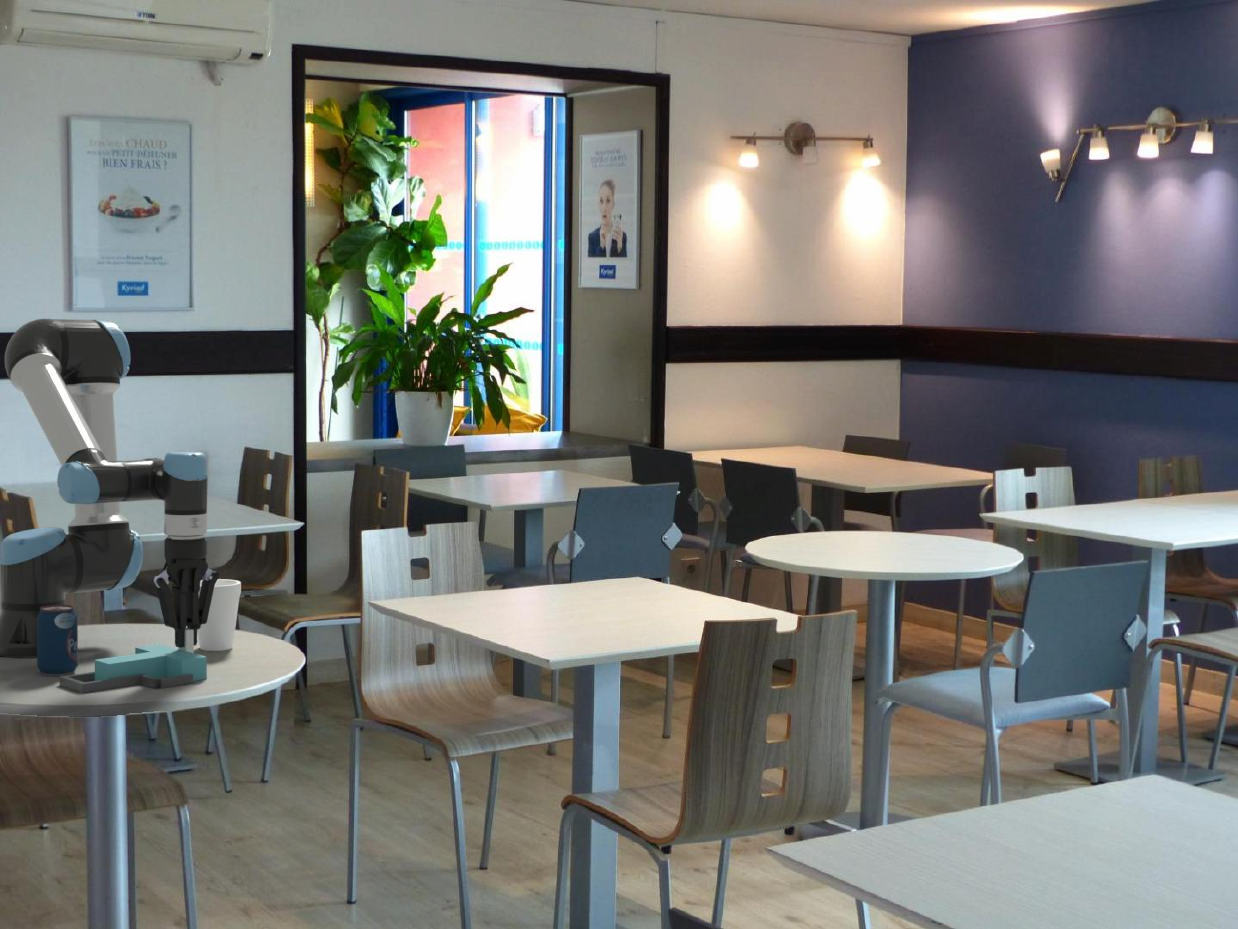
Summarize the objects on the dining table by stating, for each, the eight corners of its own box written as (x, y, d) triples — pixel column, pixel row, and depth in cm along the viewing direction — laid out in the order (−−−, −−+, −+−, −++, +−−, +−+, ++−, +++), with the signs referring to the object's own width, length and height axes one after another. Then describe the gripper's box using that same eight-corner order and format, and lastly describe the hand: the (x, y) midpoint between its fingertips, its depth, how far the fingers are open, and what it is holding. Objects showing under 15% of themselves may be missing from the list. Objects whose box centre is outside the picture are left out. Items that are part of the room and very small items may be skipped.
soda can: (79, 675, 278) (78, 609, 277) (38, 677, 275) (37, 611, 274) (76, 667, 284) (76, 603, 283) (36, 670, 282) (35, 605, 281)
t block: (159, 665, 288) (159, 644, 288) (206, 678, 277) (206, 656, 277) (79, 677, 276) (79, 655, 276) (125, 691, 265) (125, 669, 265)
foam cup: (247, 644, 310) (247, 580, 309) (231, 653, 301) (231, 587, 300) (201, 642, 311) (201, 578, 310) (184, 651, 302) (184, 585, 301)
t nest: (138, 666, 287) (138, 658, 286) (193, 683, 273) (193, 674, 273) (44, 680, 273) (44, 671, 273) (97, 698, 260) (97, 689, 260)
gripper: (164, 541, 274) (165, 672, 276) (228, 535, 283) (228, 662, 285) (142, 537, 279) (143, 665, 281) (205, 532, 289) (205, 656, 290)
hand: (186, 664), depth 283 cm, fingers closed
